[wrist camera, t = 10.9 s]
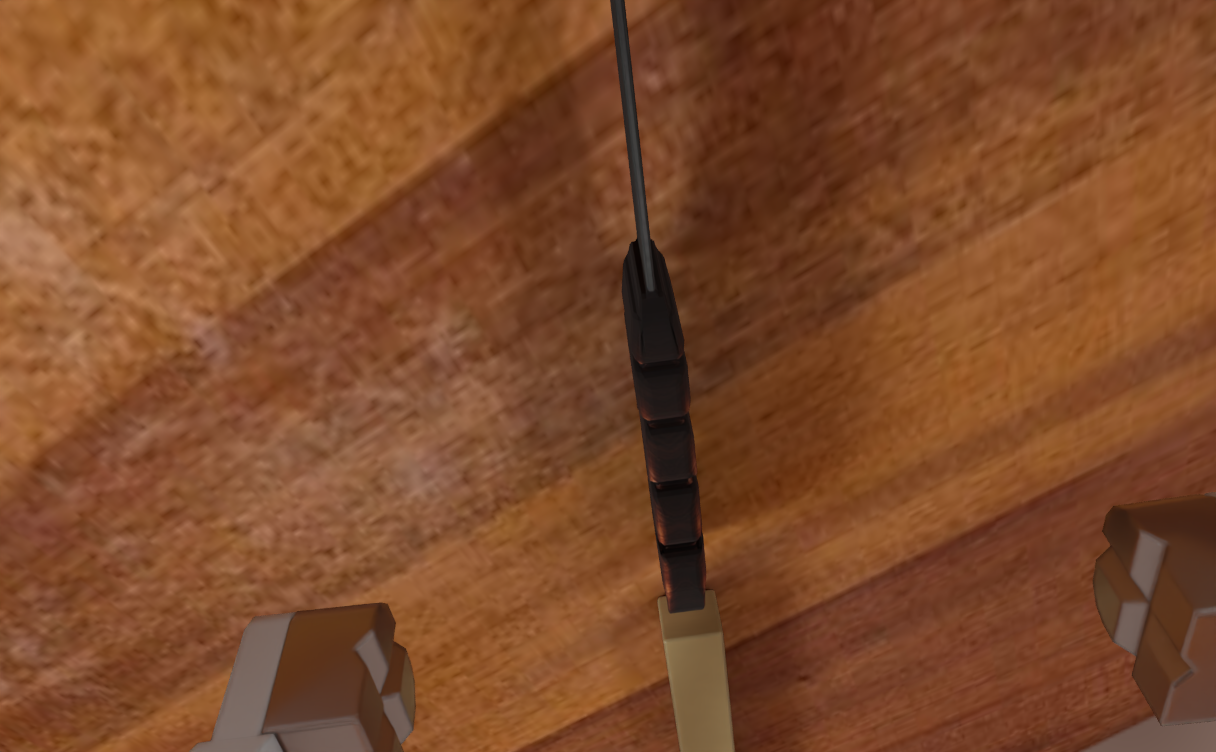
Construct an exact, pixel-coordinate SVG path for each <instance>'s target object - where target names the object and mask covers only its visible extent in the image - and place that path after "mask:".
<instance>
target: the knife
mask: <svg viewBox="0 0 1216 752" xmlns="http://www.w3.org/2000/svg"><path fill="white" fill-rule="evenodd" d="M610 2H611V11H612V20H613V28H614V37H615V46H616V55H617V63H618V72H619V81H620V90H621V98H622V107H623V116H624V125H625V133H626V142H627V151H628V160H629V168H630V177H631V186H632V195H633V203H634V212H635V221H636V230H637V239H636V241H634V242H631V244H630V246H629V251H628V254H627V255H626V258H625V260H624V263H623V278H622V296H623V303H624V310H625V312H624V316H625V324H626V331H627V339H628V346H629V353H630V360H631V366H632V373H633V380H634V387H635V393H636V400H637V407H638V410H639V414H640V421H641V430H642V437H643V445H644V452H645V460H646V468H647V474H648V483H649V491H650V498H651V506H652V514H653V520H654V527H655V534H656V541H657V547H658V554H659V561H660V568H661V574H662V581H663V585H664V589H665V593H666V598H667V605H668V611H669V613H670V614H672V613H680V612H687V611H695V610H702V609H704V607H705V586H706V564H705V553H704V542H703V533H702V520H701V509H700V498H699V487H698V482H697V477H696V475H697V465H696V454H695V443H694V435H693V430H692V425H691V421H690V416H689V407H690V388H689V377H688V366H687V362H686V357H685V353H684V337H683V333H682V328H681V324H680V320H679V315H678V311H677V307H676V302H675V298H674V293H673V289H672V285H671V281H670V277H669V274H668V270H667V267H666V263H665V259H664V257H663V255H662V254H661V253H660V252H659V251H658V249H657V248H656V246H655V243H654V241H653V240H652V239H650V231H649V222H648V213H647V204H646V195H645V185H644V176H643V167H642V158H641V148H640V139H639V130H638V121H637V112H636V102H635V93H634V84H633V75H632V65H631V56H630V47H629V38H628V28H627V19H626V10H625V1H624V0H610Z"/></svg>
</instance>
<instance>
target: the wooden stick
mask: <svg viewBox="0 0 1216 752" xmlns="http://www.w3.org/2000/svg"><path fill="white" fill-rule="evenodd" d="M657 602H658V609H659V616H660V623H661V630H662V637H663V644H664V650H665V657H666V663H667V670H668V676H669V683H670V689H671V696H672V702H673V709H674V715H675V722H676V728H677V734H678V741H679V747H680V752H735V746H734V736H733V726H732V716H731V706H730V696H729V686H728V676H727V666H726V656H725V646H724V636H723V629H722V624H721V619H720V614H719V609H718V604H717V599H716V595H715V592H714V591H713V590H705V607H704V609H702V610H695V611H687V612H680V613H672V614H670V613H669V611H668V605H667V598H666V596H662V597H659V598H658V601H657Z"/></svg>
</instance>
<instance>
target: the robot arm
mask: <svg viewBox="0 0 1216 752" xmlns="http://www.w3.org/2000/svg"><path fill="white" fill-rule="evenodd" d="M1102 532H1103V533H1104V535H1105V537H1106V538H1107V540H1108V542H1109V543H1110V545H1111V546H1110V547H1109V548H1108V549H1107V550H1106V551H1105V552H1104V553H1103V554H1101V555H1100V556H1099V557H1098V558H1097V559H1096V563H1095V569H1094V576H1093V588H1094V595H1095V602H1096V606H1097V609H1098V612H1099V615H1100V617H1101V620H1102V623H1103V625H1104V627H1105V628H1106V630H1107V632H1108V634H1109V636H1110V638H1111V639H1112V641H1113V642H1114V643H1116V644H1117V645H1119V646H1120V647H1122V648H1124V649H1125V650H1127V651H1128V652H1130V653H1132V654H1133V655H1135V656H1136V660H1135V664H1134V668H1133V672H1132V676H1133V678H1134V680H1135V682H1136V683H1137V685H1138V687H1139V689H1140V690H1141V692H1142V694H1143V695H1144V697H1145V699H1146V701H1147V702H1148V704H1149V706H1150V708H1151V709H1152V711H1153V713H1154V714H1155V716H1156V718H1157V719H1158V721H1159V723H1160V725H1161V726H1169V725H1180V724H1191V723H1201V722H1211V721H1216V492H1211V493H1206V494H1204V495H1203V494H1194V495H1187V496H1180V497H1173V498H1166V499H1159V500H1152V501H1145V502H1138V503H1131V504H1124V505H1117V506H1113V507H1112V508H1111V509H1110V511H1109V512H1108V513H1107V514H1106V517H1105V522H1104V526H1103V530H1102ZM395 625H396V622H395V620H394V617H393V615H392V613H391V611H390V608H389V606H388V604H386V603H372V604H362V605H353V606H343V607H334V608H324V609H315V610H305V611H297V612H292V613H283V614H274V615H265V616H255V617H254V618H253V619H252V620H251V621H250V623H249V624H248V625H247V627H246V628H245V630H244V633H243V637H242V640H241V643H240V646H239V650H238V653H237V656H236V659H235V663H234V666H233V669H232V673H231V676H230V679H229V682H228V686H227V689H226V692H225V695H224V699H223V702H222V705H221V708H220V712H219V715H218V718H217V722H216V725H215V728H214V731H213V735H212V738H211V741H208V742H202V743H197V744H196V745H195V746H194V747H193V748H192V749H191V750H190V751H189V752H404V751H403V749H402V746H401V744H402V743H403V742H404V741H405V739H406V738H407V737H408V736H409V735H410V733H411V732H412V731H413V729H414V719H415V709H416V702H415V680H414V676H413V671H412V666H411V662H410V659H409V656H408V653H407V651H406V648H404V647H402V646H401V645H399V644H398V643H396V642H394V641H393V639H394V632H395Z"/></svg>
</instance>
